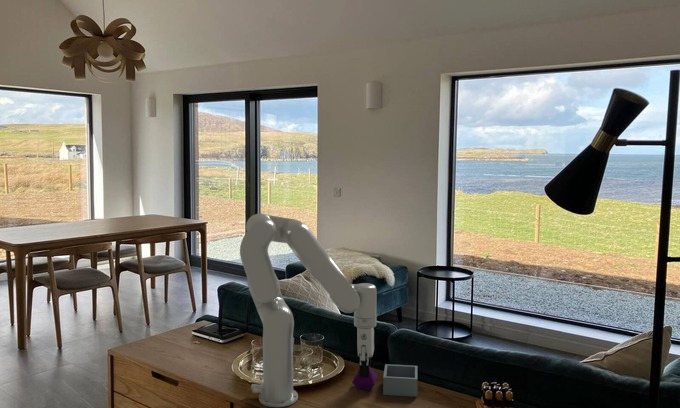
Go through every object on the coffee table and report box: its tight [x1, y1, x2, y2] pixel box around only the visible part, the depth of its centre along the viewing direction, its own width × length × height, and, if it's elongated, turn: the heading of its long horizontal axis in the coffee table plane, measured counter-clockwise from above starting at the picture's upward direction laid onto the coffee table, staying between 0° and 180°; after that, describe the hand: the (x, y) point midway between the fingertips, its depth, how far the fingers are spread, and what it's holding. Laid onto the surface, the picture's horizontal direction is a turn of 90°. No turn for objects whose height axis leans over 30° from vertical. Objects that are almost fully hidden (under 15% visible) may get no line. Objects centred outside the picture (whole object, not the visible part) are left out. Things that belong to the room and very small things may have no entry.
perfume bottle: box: [352, 336, 378, 392], centre depth 189 cm, size 8×8×18 cm
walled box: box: [382, 363, 418, 398], centre depth 190 cm, size 11×11×6 cm
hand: (365, 372), depth 190 cm, fingers closed on perfume bottle, 4 cm apart
